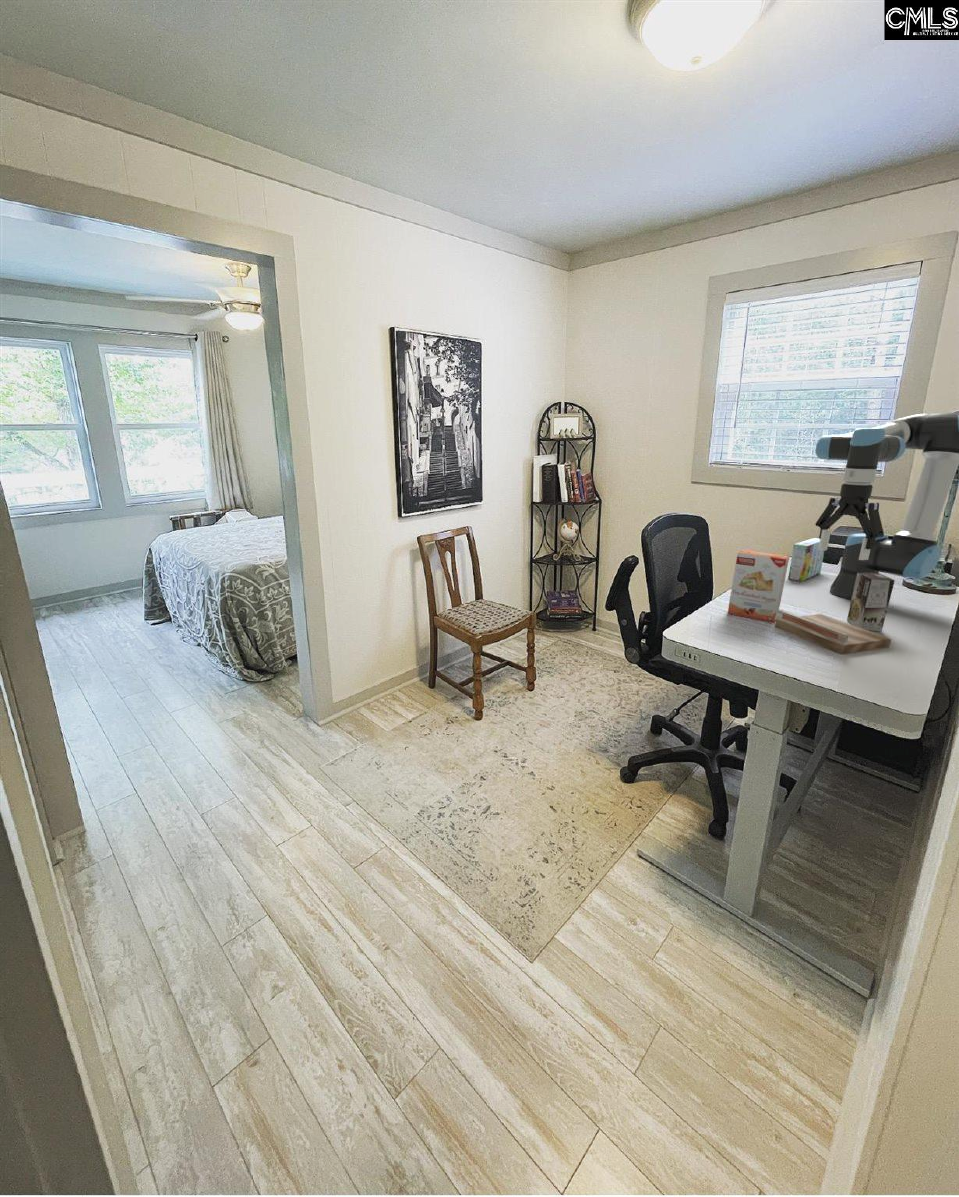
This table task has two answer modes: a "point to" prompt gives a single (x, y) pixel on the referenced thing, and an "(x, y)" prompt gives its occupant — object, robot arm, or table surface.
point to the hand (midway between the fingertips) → (842, 554)
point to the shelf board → (830, 633)
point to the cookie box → (870, 601)
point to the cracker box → (758, 585)
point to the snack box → (806, 560)
